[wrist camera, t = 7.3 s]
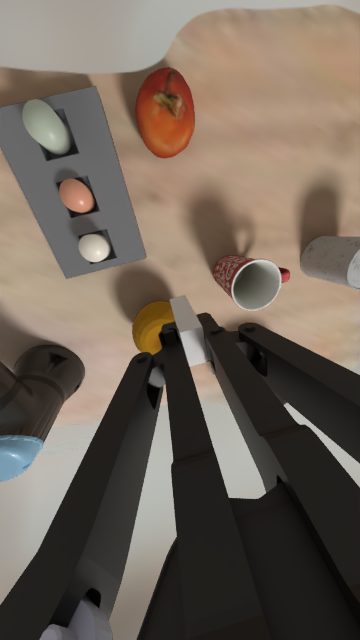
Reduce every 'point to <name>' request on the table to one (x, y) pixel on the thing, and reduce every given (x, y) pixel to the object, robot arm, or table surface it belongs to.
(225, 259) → the mug
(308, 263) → the grey stone cylinder
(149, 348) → the apple
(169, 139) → the tomato
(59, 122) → the button sage
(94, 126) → the panel
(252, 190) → the table surface
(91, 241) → the button cream
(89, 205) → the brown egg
